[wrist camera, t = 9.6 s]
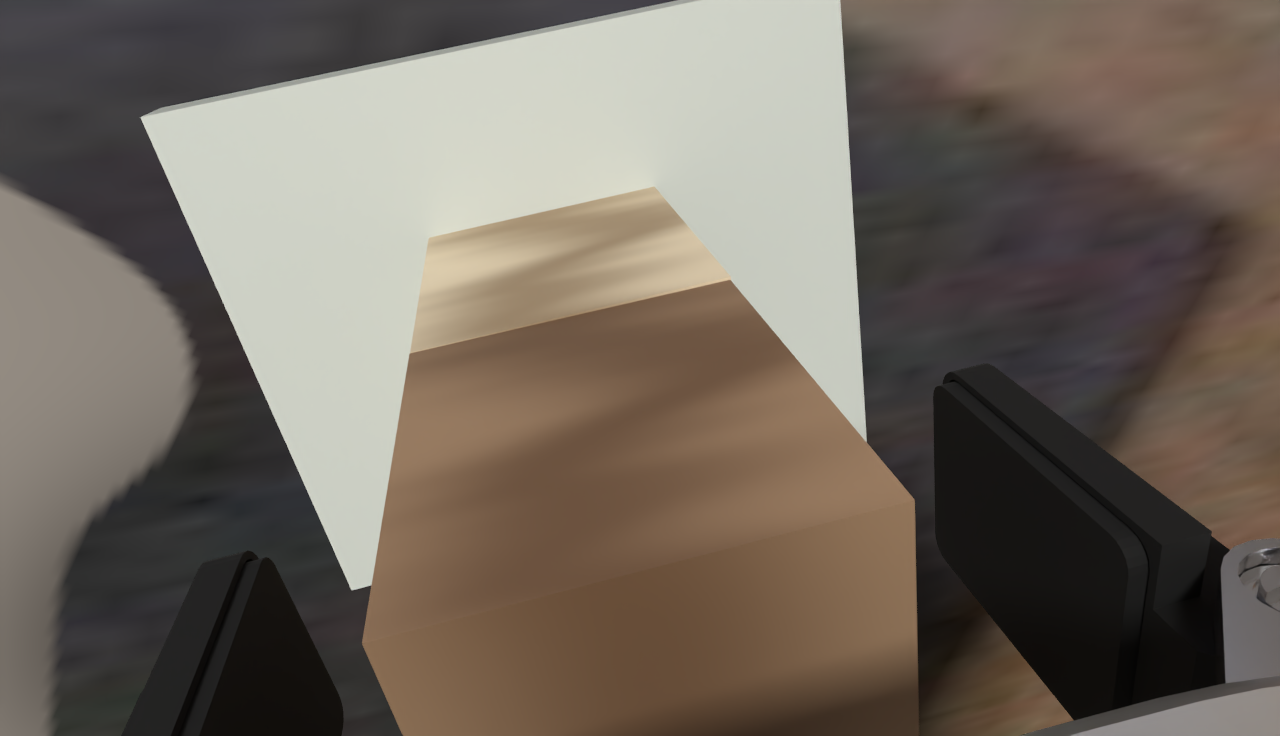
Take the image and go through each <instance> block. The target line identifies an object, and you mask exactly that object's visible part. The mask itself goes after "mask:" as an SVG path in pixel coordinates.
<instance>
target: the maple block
mask: <svg viewBox="0 0 1280 736" xmlns="http://www.w3.org/2000/svg"><path fill="white" fill-rule="evenodd" d="M727 280H731V276H730V275H729V274H728V273H727V272H726V270H725V269H724V268H723V267H722V266H721V264H720V263H719V262H718V261H717V260H716V259H715V257H714V256H713V255H712V254H711V253H710V252H709V250H708V249H707V248H706V247H705V246H704V244H703V243H702V242H701V241H700V240H699V239H698V237H697V236H696V235H695V234H694V233H693V231H692V230H691V229H690V228H689V227H688V226H687V224H686V223H685V222H684V221H683V220H682V218H681V217H680V216H679V215H678V214H677V213H676V211H675V210H674V209H673V208H672V207H671V205H670V204H669V203H668V202H667V201H666V200H665V198H664V197H663V196H662V195H661V194H660V192H659V191H658V190H657V189H656V188H655V187H650V188H646V189H641V190H637V191H632V192H628V193H624V194H619V195H615V196H610V197H606V198H602V199H597V200H593V201H588V202H584V203H580V204H575V205H571V206H566V207H562V208H558V209H553V210H549V211H544V212H540V213H536V214H531V215H527V216H522V217H518V218H514V219H509V220H505V221H500V222H496V223H492V224H487V225H483V226H478V227H474V228H470V229H465V230H461V231H456V232H452V233H448V234H443V235H439V236H434V237H430V238H429V239H428V245H427V251H426V257H425V263H424V270H423V276H422V282H421V288H420V294H419V300H418V307H417V313H416V319H415V325H414V331H413V337H412V344H411V350H410V353H414V352H418V351H423V350H427V349H431V348H436V347H440V346H444V345H449V344H453V343H457V342H462V341H466V340H470V339H475V338H479V337H483V336H488V335H492V334H496V333H501V332H505V331H509V330H514V329H518V328H522V327H527V326H531V325H535V324H540V323H544V322H548V321H553V320H557V319H562V318H566V317H570V316H575V315H579V314H583V313H588V312H592V311H596V310H601V309H605V308H609V307H614V306H618V305H622V304H627V303H631V302H635V301H640V300H644V299H648V298H653V297H657V296H661V295H666V294H670V293H674V292H679V291H683V290H688V289H692V288H696V287H701V286H705V285H709V284H714V283H718V282H722V281H727Z"/></svg>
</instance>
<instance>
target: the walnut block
mask: <svg viewBox="0 0 1280 736" xmlns="http://www.w3.org/2000/svg"><path fill="white" fill-rule="evenodd" d="M362 644H363V647H364V649H365V651H366V653H367V656H368V658H369V660H370V662H371V665H372V667H373V669H374V671H375V674H376V676H377V678H378V681H379V683H380V685H381V687H382V690H383V692H384V694H385V696H386V699H387V701H388V703H389V705H390V708H391V710H392V712H393V714H394V717H395V719H396V721H397V723H398V726H399V728H400V730H401V732H402V735H403V736H919V697H918V645H917V593H916V541H915V500H914V499H913V497H912V496H911V495H910V494H909V493H908V491H907V490H906V489H905V488H904V487H903V485H902V484H901V483H900V482H899V481H898V479H897V478H896V477H895V476H894V475H893V473H892V472H891V471H890V470H889V469H888V467H887V466H886V465H885V464H884V463H883V461H882V460H881V459H880V458H879V457H878V455H877V454H876V453H875V452H874V451H873V450H872V448H871V447H870V446H869V445H868V444H867V442H866V441H865V440H864V439H863V438H862V436H861V435H860V434H859V433H858V432H857V430H856V429H855V428H854V427H853V426H852V424H851V423H850V422H849V421H848V420H847V418H846V417H845V416H844V415H843V414H842V412H841V411H840V410H839V409H838V408H837V407H836V405H835V404H834V403H833V402H832V401H831V399H830V398H829V397H828V396H827V395H826V393H825V392H824V391H823V390H822V389H821V387H820V386H819V385H818V384H817V383H816V381H815V380H814V379H813V378H812V377H811V375H810V374H809V373H808V372H807V371H806V369H805V368H804V367H803V366H802V365H801V364H800V362H799V361H798V360H797V359H796V358H795V356H794V355H793V354H792V353H791V352H790V350H789V349H788V348H787V347H786V346H785V344H784V343H783V342H782V341H781V340H780V338H779V337H778V336H777V335H776V334H775V332H774V331H773V330H772V329H771V328H770V326H769V325H768V324H767V323H766V322H765V321H764V319H763V318H762V317H761V316H760V315H759V313H758V312H757V311H756V310H755V309H754V307H753V306H752V305H751V304H750V303H749V301H748V300H747V299H746V298H745V297H744V295H743V294H742V293H741V292H740V291H739V289H738V288H737V287H736V286H735V285H734V283H733V282H732V281H731V280H727V281H722V282H718V283H714V284H709V285H705V286H701V287H696V288H692V289H688V290H683V291H679V292H674V293H670V294H666V295H661V296H657V297H653V298H648V299H644V300H640V301H635V302H631V303H627V304H622V305H618V306H614V307H609V308H605V309H601V310H596V311H592V312H588V313H583V314H579V315H575V316H570V317H566V318H562V319H557V320H553V321H548V322H544V323H540V324H535V325H531V326H527V327H522V328H518V329H514V330H509V331H505V332H501V333H496V334H492V335H488V336H483V337H479V338H475V339H470V340H466V341H462V342H457V343H453V344H449V345H444V346H440V347H436V348H431V349H427V350H423V351H418V352H414V353H409V359H408V365H407V371H406V377H405V384H404V390H403V396H402V402H401V408H400V414H399V420H398V426H397V433H396V439H395V445H394V451H393V457H392V463H391V469H390V475H389V482H388V488H387V494H386V500H385V506H384V512H383V518H382V524H381V530H380V537H379V543H378V549H377V555H376V561H375V567H374V573H373V579H372V586H371V592H370V598H369V604H368V610H367V616H366V622H365V628H364V635H363V641H362Z"/></svg>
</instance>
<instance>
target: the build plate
mask: <svg viewBox="0 0 1280 736" xmlns="http://www.w3.org/2000/svg"><path fill="white" fill-rule="evenodd" d="M141 120H142V122H143V124H144V126H145V129H146V131H147V133H148V135H149V138H150V140H151V142H152V144H153V146H154V149H155V151H156V153H157V155H158V158H159V160H160V162H161V164H162V167H163V169H164V171H165V173H166V176H167V178H168V180H169V182H170V185H171V187H172V189H173V191H174V194H175V196H176V198H177V200H178V202H179V205H180V207H181V209H182V211H183V214H184V216H185V218H186V220H187V223H188V225H189V227H190V229H191V232H192V234H193V236H194V238H195V241H196V243H197V245H198V247H199V250H200V252H201V254H202V256H203V258H204V261H205V263H206V265H207V267H208V270H209V272H210V274H211V276H212V279H213V281H214V283H215V285H216V288H217V290H218V292H219V294H220V297H221V299H222V301H223V303H224V306H225V308H226V310H227V312H228V314H229V317H230V319H231V321H232V323H233V326H234V328H235V330H236V332H237V335H238V337H239V339H240V341H241V344H242V346H243V348H244V350H245V353H246V355H247V357H248V359H249V362H250V364H251V366H252V368H253V370H254V373H255V375H256V377H257V379H258V382H259V384H260V386H261V388H262V391H263V393H264V395H265V397H266V400H267V402H268V404H269V406H270V409H271V411H272V413H273V415H274V418H275V420H276V422H277V424H278V426H279V429H280V431H281V433H282V435H283V438H284V440H285V442H286V444H287V447H288V449H289V451H290V453H291V456H292V458H293V460H294V462H295V465H296V467H297V469H298V471H299V474H300V476H301V478H302V480H303V482H304V485H305V487H306V489H307V491H308V494H309V496H310V498H311V500H312V503H313V505H314V507H315V509H316V512H317V514H318V516H319V518H320V521H321V523H322V525H323V527H324V530H325V532H326V534H327V536H328V538H329V541H330V543H331V545H332V547H333V550H334V552H335V554H336V556H337V559H338V561H339V563H340V565H341V568H342V570H343V572H344V574H345V577H346V579H347V581H348V583H349V586H350V588H351V590H355V589H359V588H363V587H366V586H370V585H372V579H373V573H374V567H375V561H376V555H377V549H378V543H379V537H380V530H381V524H382V518H383V512H384V506H385V500H386V494H387V488H388V482H389V475H390V469H391V463H392V457H393V451H394V445H395V439H396V433H397V426H398V420H399V414H400V408H401V402H402V396H403V390H404V384H405V377H406V371H407V365H408V359H409V353H410V350H411V344H412V337H413V331H414V325H415V319H416V313H417V307H418V300H419V294H420V288H421V282H422V276H423V270H424V263H425V257H426V251H427V245H428V239H429V238H430V237H434V236H439V235H443V234H448V233H452V232H456V231H461V230H465V229H470V228H474V227H478V226H483V225H487V224H492V223H496V222H500V221H505V220H509V219H514V218H518V217H522V216H527V215H531V214H536V213H540V212H544V211H549V210H553V209H558V208H562V207H566V206H571V205H575V204H580V203H584V202H588V201H593V200H597V199H602V198H606V197H610V196H615V195H619V194H624V193H628V192H632V191H637V190H641V189H646V188H650V187H655V188H656V189H657V190H658V191H659V192H660V194H661V195H662V196H663V197H664V198H665V200H666V201H667V202H668V203H669V204H670V205H671V207H672V208H673V209H674V210H675V211H676V213H677V214H678V215H679V216H680V217H681V218H682V220H683V221H684V222H685V223H686V224H687V226H688V227H689V228H690V229H691V230H692V231H693V233H694V234H695V235H696V236H697V237H698V239H699V240H700V241H701V242H702V243H703V244H704V246H705V247H706V248H707V249H708V250H709V252H710V253H711V254H712V255H713V256H714V257H715V259H716V260H717V261H718V262H719V263H720V264H721V266H722V267H723V268H724V269H725V270H726V272H727V273H728V274H729V275H730V276H731V281H732V282H733V283H734V285H735V286H736V287H737V288H738V289H739V291H740V292H741V293H742V294H743V295H744V297H745V298H746V299H747V300H748V301H749V303H750V304H751V305H752V306H753V307H754V309H755V310H756V311H757V312H758V313H759V315H760V316H761V317H762V318H763V319H764V321H765V322H766V323H767V324H768V325H769V326H770V328H771V329H772V330H773V331H774V332H775V334H776V335H777V336H778V337H779V338H780V340H781V341H782V342H783V343H784V344H785V346H786V347H787V348H788V349H789V350H790V352H791V353H792V354H793V355H794V356H795V358H796V359H797V360H798V361H799V362H800V364H801V365H802V366H803V367H804V368H805V369H806V371H807V372H808V373H809V374H810V375H811V377H812V378H813V379H814V380H815V381H816V383H817V384H818V385H819V386H820V387H821V389H822V390H823V391H824V392H825V393H826V395H827V396H828V397H829V398H830V399H831V401H832V402H833V403H834V404H835V405H836V407H837V408H838V409H839V410H840V411H841V412H842V414H843V415H844V416H845V417H846V418H847V420H848V421H849V422H850V423H851V424H852V426H853V427H854V428H855V429H856V430H857V432H858V433H859V434H860V435H861V436H862V438H863V439H864V440H865V441H866V442H867V439H866V422H865V405H864V389H863V372H862V356H861V339H860V322H859V306H858V289H857V272H856V256H855V239H854V222H853V206H852V189H851V173H850V156H849V139H848V123H847V106H846V89H845V73H844V56H843V39H842V23H841V6H840V0H677V1H672V2H667V3H663V4H658V5H653V6H648V7H643V8H639V9H634V10H629V11H624V12H619V13H615V14H610V15H605V16H600V17H595V18H591V19H586V20H581V21H576V22H571V23H566V24H562V25H557V26H552V27H547V28H542V29H538V30H533V31H528V32H523V33H518V34H514V35H509V36H504V37H499V38H494V39H490V40H485V41H480V42H475V43H470V44H466V45H461V46H456V47H451V48H446V49H442V50H437V51H432V52H427V53H422V54H418V55H413V56H408V57H403V58H398V59H394V60H389V61H384V62H379V63H374V64H370V65H365V66H360V67H355V68H350V69H346V70H341V71H336V72H331V73H326V74H322V75H317V76H312V77H307V78H302V79H298V80H293V81H288V82H283V83H278V84H274V85H269V86H264V87H259V88H254V89H250V90H245V91H240V92H235V93H230V94H226V95H221V96H216V97H211V98H206V99H202V100H197V101H192V102H187V103H182V104H178V105H173V106H168V107H163V108H160V109H158V110H155V111H153V112H151V113H149V114H146V115H144V116H142V117H141Z"/></svg>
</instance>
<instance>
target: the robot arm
mask: <svg viewBox="0 0 1280 736" xmlns="http://www.w3.org/2000/svg"><path fill="white" fill-rule="evenodd" d="M933 404H934V469H935V533H936V540H937V544H938V547H939V549H940V552H941V554H942V556H943V557H944V559H945V560H946V562H947V563H948V564H949V565H950V567H951V568H952V569H953V570H954V572H955V573H956V574H957V575H958V576H959V578H960V579H961V580H962V581H963V583H964V584H965V585H966V586H967V588H968V589H969V590H970V591H971V593H972V594H973V595H974V596H975V598H976V599H977V600H978V601H979V603H980V604H981V605H982V606H983V608H984V609H985V610H986V611H987V613H988V614H989V615H990V616H991V618H992V619H993V620H994V621H995V623H996V624H997V625H998V626H999V628H1000V629H1001V630H1002V631H1003V632H1004V634H1005V635H1006V636H1007V637H1008V639H1009V640H1010V641H1011V642H1012V644H1013V645H1014V646H1015V647H1016V649H1017V650H1018V651H1019V652H1020V654H1021V655H1022V656H1023V657H1024V659H1025V660H1026V661H1027V662H1028V664H1029V665H1030V666H1031V667H1032V669H1033V670H1034V671H1035V672H1036V674H1037V675H1038V676H1039V677H1040V679H1041V680H1042V681H1043V682H1044V684H1045V685H1046V686H1047V687H1048V688H1049V690H1050V691H1051V692H1052V693H1053V695H1054V696H1055V697H1056V698H1057V700H1058V701H1059V702H1060V703H1061V705H1062V706H1063V707H1064V708H1065V710H1066V711H1067V712H1068V713H1069V715H1070V716H1071V717H1072V718H1073V720H1074V721H1071V722H1067V723H1064V724H1060V725H1056V726H1052V727H1049V728H1045V729H1041V730H1038V731H1034V732H1031V733H1027V734H1024V735H1020V736H1280V539H1275V538H1271V539H1261V540H1251V541H1248V542H1246V543H1243V544H1240V545H1238V546H1235V547H1234V548H1232V549H1231V550H1229V549H1228V548H1226V547H1225V546H1224V545H1222V544H1221V543H1220V542H1218V541H1217V540H1216V539H1215V538H1213V537H1212V536H1211V533H1212V531H1210V530H1209V529H1208V528H1206V527H1205V526H1204V525H1202V524H1201V523H1200V522H1198V521H1197V520H1196V519H1195V518H1193V517H1192V516H1191V515H1189V514H1188V513H1187V512H1185V511H1184V510H1183V509H1181V508H1180V507H1179V506H1177V505H1176V504H1175V503H1173V502H1172V501H1171V500H1169V499H1168V498H1167V497H1165V496H1164V495H1163V494H1162V493H1160V492H1159V491H1158V490H1156V489H1155V488H1154V487H1152V486H1151V485H1150V484H1148V483H1147V482H1146V481H1144V480H1143V479H1142V478H1140V477H1139V476H1138V475H1136V474H1135V473H1134V472H1132V471H1131V470H1130V469H1129V468H1127V467H1126V466H1125V465H1123V464H1122V463H1121V462H1119V461H1118V460H1117V459H1115V458H1114V457H1113V456H1111V455H1110V454H1109V453H1107V452H1106V451H1105V450H1103V449H1102V448H1101V447H1099V446H1098V445H1097V444H1096V443H1094V442H1093V441H1092V440H1090V439H1089V438H1088V437H1086V436H1085V435H1084V434H1082V433H1081V432H1080V431H1078V430H1077V429H1076V428H1074V427H1073V426H1072V425H1070V424H1069V423H1068V422H1066V421H1065V420H1064V419H1063V418H1061V417H1060V416H1059V415H1057V414H1056V413H1055V412H1053V411H1052V410H1051V409H1049V408H1048V407H1047V406H1045V405H1044V404H1043V403H1041V402H1040V401H1039V400H1037V399H1036V398H1035V397H1034V396H1032V395H1031V394H1030V393H1028V392H1027V391H1026V390H1024V389H1023V388H1022V387H1020V386H1019V385H1018V384H1016V383H1015V382H1014V381H1012V380H1011V379H1010V378H1008V377H1007V376H1006V375H1004V374H1003V373H1002V372H1001V371H999V370H998V369H997V368H995V367H994V366H992V365H990V364H980V365H976V366H973V367H969V368H965V369H961V370H957V371H953V372H949V373H948V374H946V375H945V377H944V380H943V385H939V386H937V387H936V388H935V390H934V396H933ZM342 729H343V707H342V703H341V699H340V697H339V694H338V692H337V690H336V688H335V686H334V684H333V682H332V680H331V678H330V676H329V674H328V672H327V670H326V668H325V666H324V664H323V662H322V660H321V658H320V656H319V654H318V652H317V650H316V648H315V645H314V643H313V641H312V639H311V637H310V635H309V633H308V631H307V629H306V627H305V625H304V623H303V621H302V619H301V617H300V615H299V613H298V611H297V609H296V607H295V605H294V603H293V601H292V599H291V597H290V595H289V593H288V591H287V589H286V587H285V585H284V583H283V581H282V579H281V577H280V575H279V573H278V571H277V569H276V567H275V565H274V563H273V562H272V560H270V559H269V558H266V557H265V558H261V559H258V557H257V556H256V555H255V554H254V553H253V552H251V551H245V552H241V553H237V554H233V555H229V556H225V557H221V558H217V559H213V560H209V561H206V562H204V563H202V565H201V566H200V568H199V570H198V572H197V574H196V576H195V578H194V580H193V583H192V585H191V587H190V589H189V591H188V594H187V596H186V598H185V600H184V602H183V605H182V607H181V609H180V611H179V613H178V616H177V618H176V620H175V622H174V624H173V626H172V629H171V631H170V633H169V635H168V637H167V640H166V642H165V644H164V646H163V648H162V651H161V653H160V655H159V657H158V659H157V661H156V664H155V666H154V668H153V670H152V672H151V675H150V677H149V679H148V681H147V683H146V686H145V688H144V690H143V691H142V693H141V694H140V696H139V698H138V701H137V703H136V705H135V707H134V709H133V712H132V714H131V716H130V718H129V720H128V722H127V725H126V727H125V729H124V731H123V733H122V736H341V735H342Z"/></svg>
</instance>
